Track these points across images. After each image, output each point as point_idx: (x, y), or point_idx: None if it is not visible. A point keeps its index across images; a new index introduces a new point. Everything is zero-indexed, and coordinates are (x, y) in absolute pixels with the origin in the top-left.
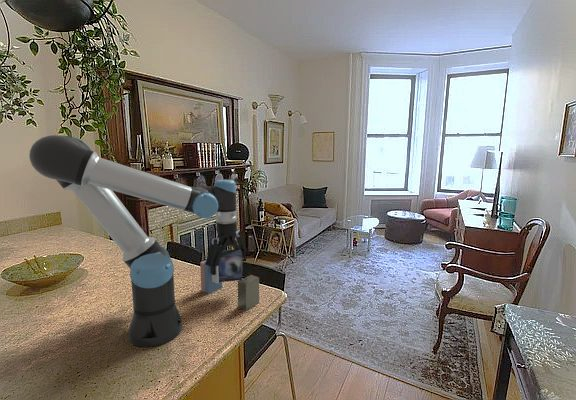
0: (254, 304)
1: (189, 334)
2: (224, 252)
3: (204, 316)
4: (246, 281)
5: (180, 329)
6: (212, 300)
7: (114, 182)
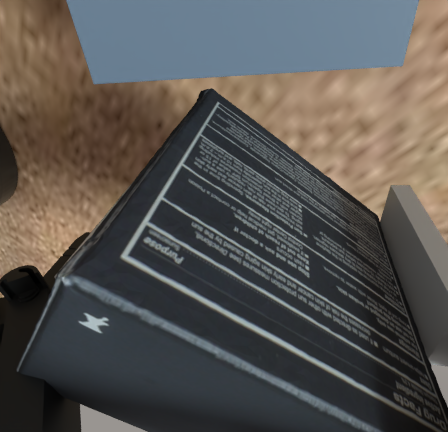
0: None
1: (35, 221)
2: (197, 416)
3: (101, 187)
4: None
5: (5, 200)
6: (183, 114)
7: None
